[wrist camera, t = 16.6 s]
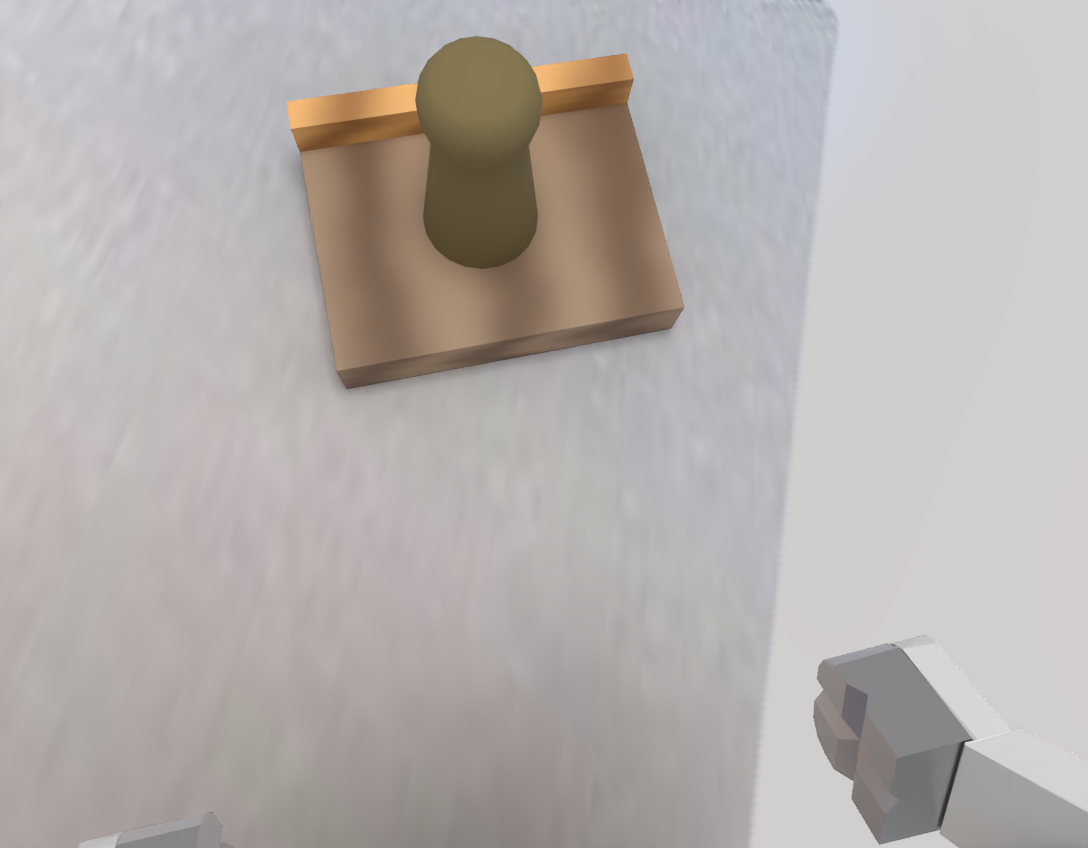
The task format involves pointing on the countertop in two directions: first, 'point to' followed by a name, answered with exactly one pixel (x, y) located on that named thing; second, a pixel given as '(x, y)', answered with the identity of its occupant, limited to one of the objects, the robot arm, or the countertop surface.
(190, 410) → the countertop surface
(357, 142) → the dock
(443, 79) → the cork
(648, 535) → the countertop surface
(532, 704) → the countertop surface
